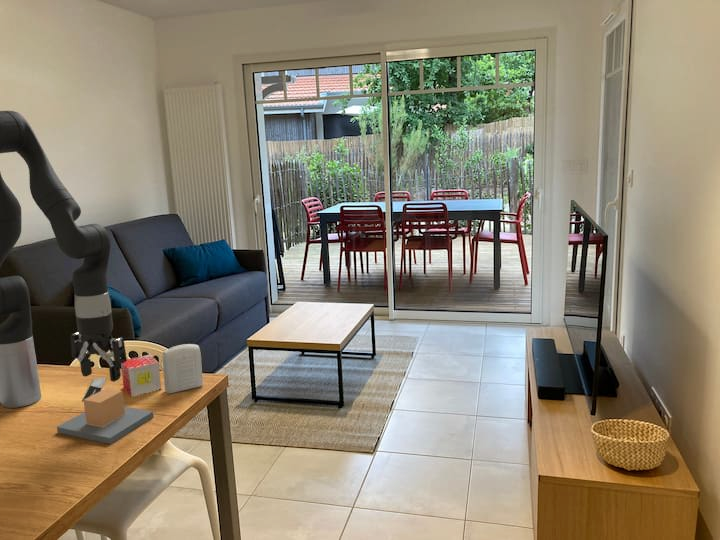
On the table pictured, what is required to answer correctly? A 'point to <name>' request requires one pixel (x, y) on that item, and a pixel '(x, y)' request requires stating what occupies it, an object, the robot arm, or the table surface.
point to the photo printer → (182, 368)
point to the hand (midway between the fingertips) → (101, 377)
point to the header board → (106, 426)
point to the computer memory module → (94, 387)
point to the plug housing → (104, 407)
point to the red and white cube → (141, 375)
